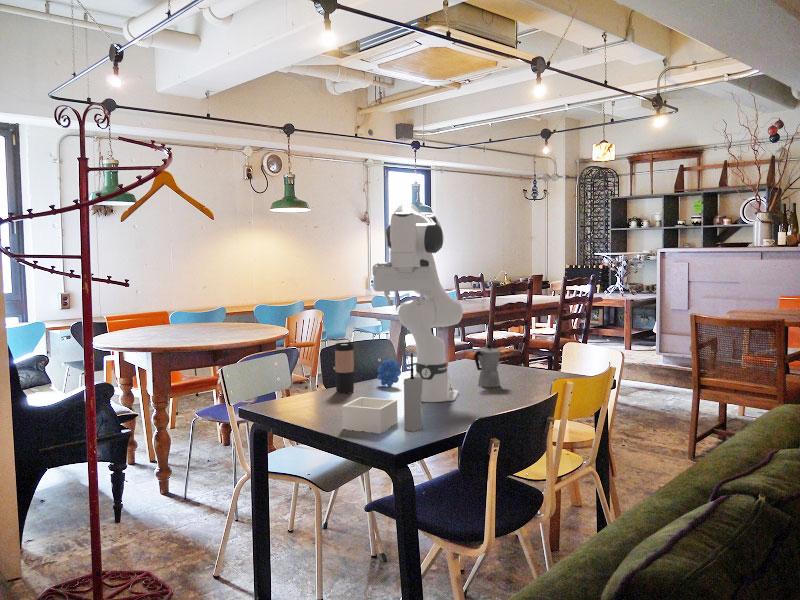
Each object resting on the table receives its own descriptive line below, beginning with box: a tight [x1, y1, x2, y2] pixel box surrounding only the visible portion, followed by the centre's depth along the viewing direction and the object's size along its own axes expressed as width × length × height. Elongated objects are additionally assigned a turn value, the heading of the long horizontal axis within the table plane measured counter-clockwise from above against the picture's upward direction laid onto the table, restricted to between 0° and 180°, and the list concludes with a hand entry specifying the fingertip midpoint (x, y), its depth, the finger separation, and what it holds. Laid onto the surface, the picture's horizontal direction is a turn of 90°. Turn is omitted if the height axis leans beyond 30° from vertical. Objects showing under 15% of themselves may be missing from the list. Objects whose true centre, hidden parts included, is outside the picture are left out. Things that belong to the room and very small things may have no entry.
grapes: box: [376, 358, 402, 387], centre depth 279 cm, size 12×7×12 cm, turn 61°
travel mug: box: [334, 342, 355, 394], centre depth 268 cm, size 8×8×20 cm
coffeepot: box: [473, 343, 501, 389], centre depth 276 cm, size 15×9×18 cm, turn 129°
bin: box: [341, 396, 398, 434], centre depth 214 cm, size 14×14×8 cm
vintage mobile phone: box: [403, 352, 424, 433], centre depth 209 cm, size 4×5×25 cm
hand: (404, 305), depth 210 cm, fingers open, 8 cm apart
